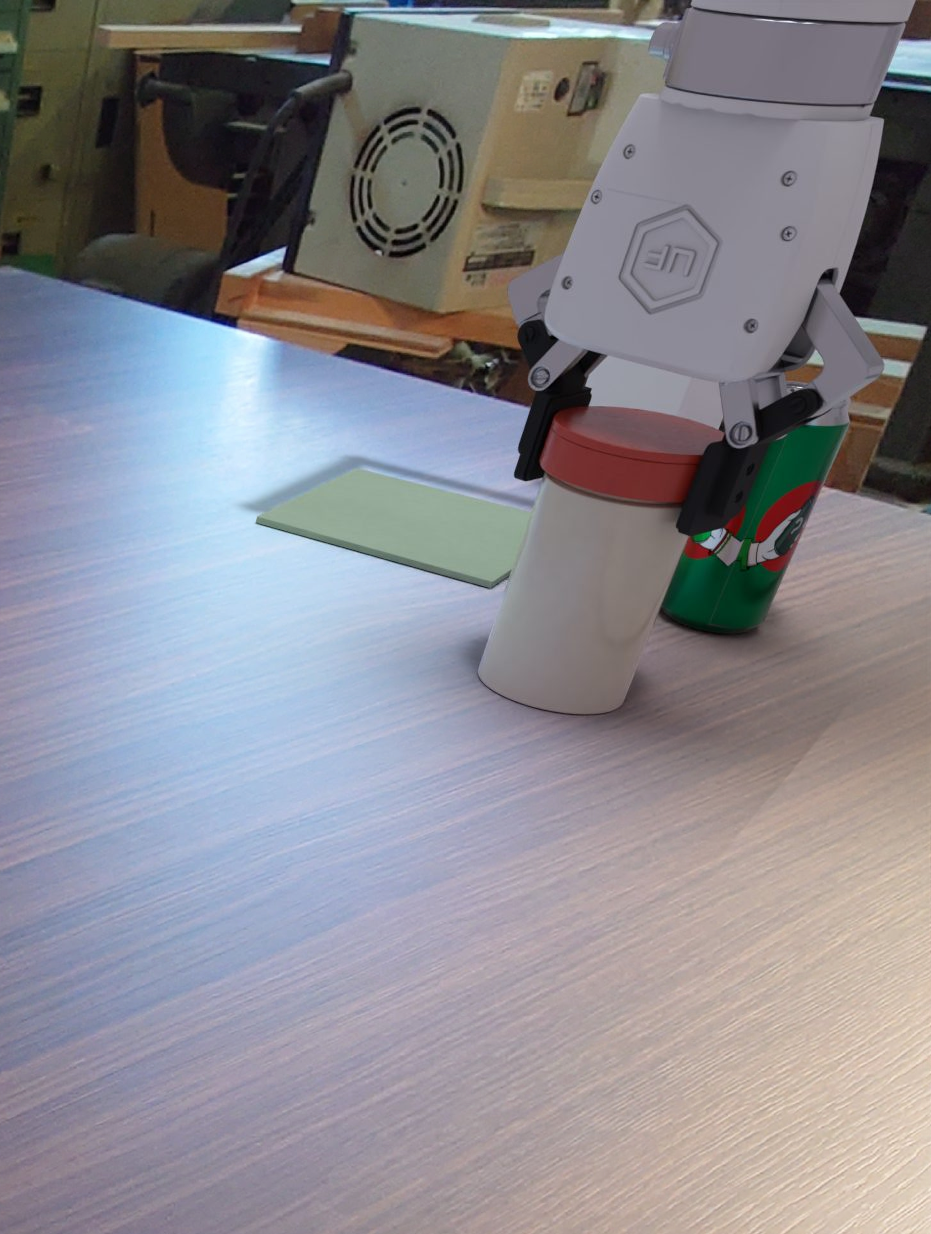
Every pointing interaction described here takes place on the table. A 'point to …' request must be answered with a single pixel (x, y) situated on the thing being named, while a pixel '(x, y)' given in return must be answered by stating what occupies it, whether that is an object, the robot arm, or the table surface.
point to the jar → (581, 599)
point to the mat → (408, 525)
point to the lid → (626, 451)
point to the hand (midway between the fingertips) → (617, 499)
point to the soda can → (757, 533)
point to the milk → (655, 391)
